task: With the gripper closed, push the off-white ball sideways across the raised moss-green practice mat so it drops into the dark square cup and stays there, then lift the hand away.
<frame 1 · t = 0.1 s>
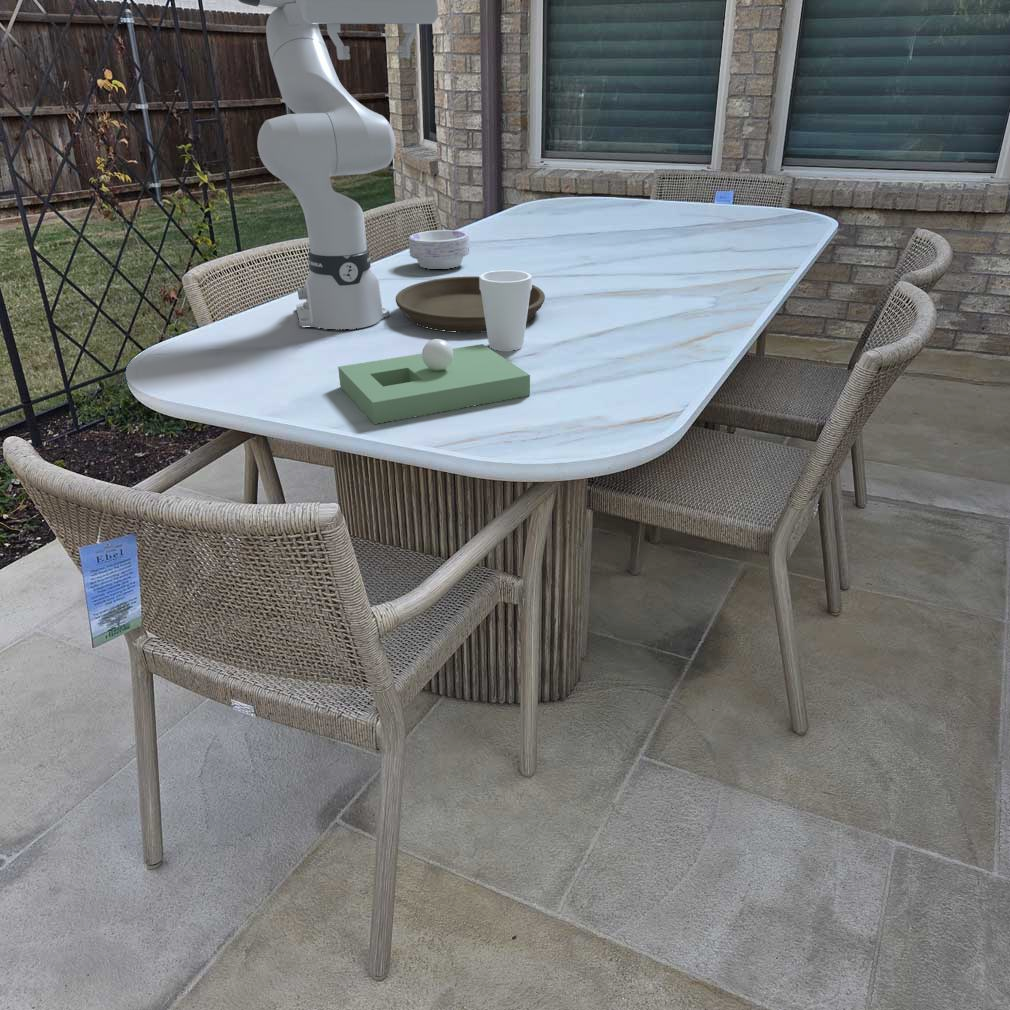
hand: (374, 59, 128), 48 cm above the table, tool pointing down, fingers open, 8 cm apart
paper bowls: (440, 267, 219), on the table
foam cup: (506, 347, 160), on the table
plant saucer: (470, 316, 180), on the table
ball: (437, 354, 137), point 6 cm above the table, touching green
green: (433, 391, 139), on the table
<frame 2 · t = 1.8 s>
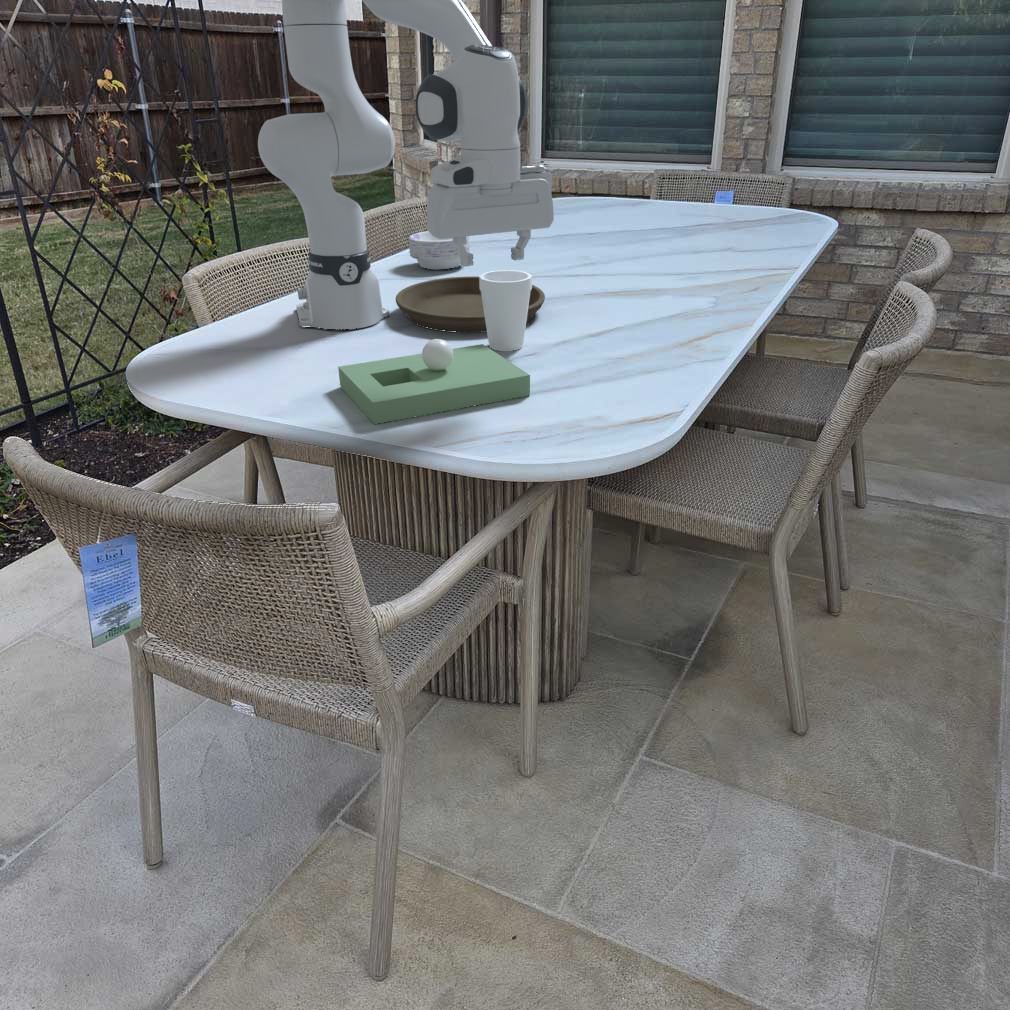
hand: (492, 262, 134), 20 cm above the table, tool pointing down, fingers open, 7 cm apart
nothing on the table moved.
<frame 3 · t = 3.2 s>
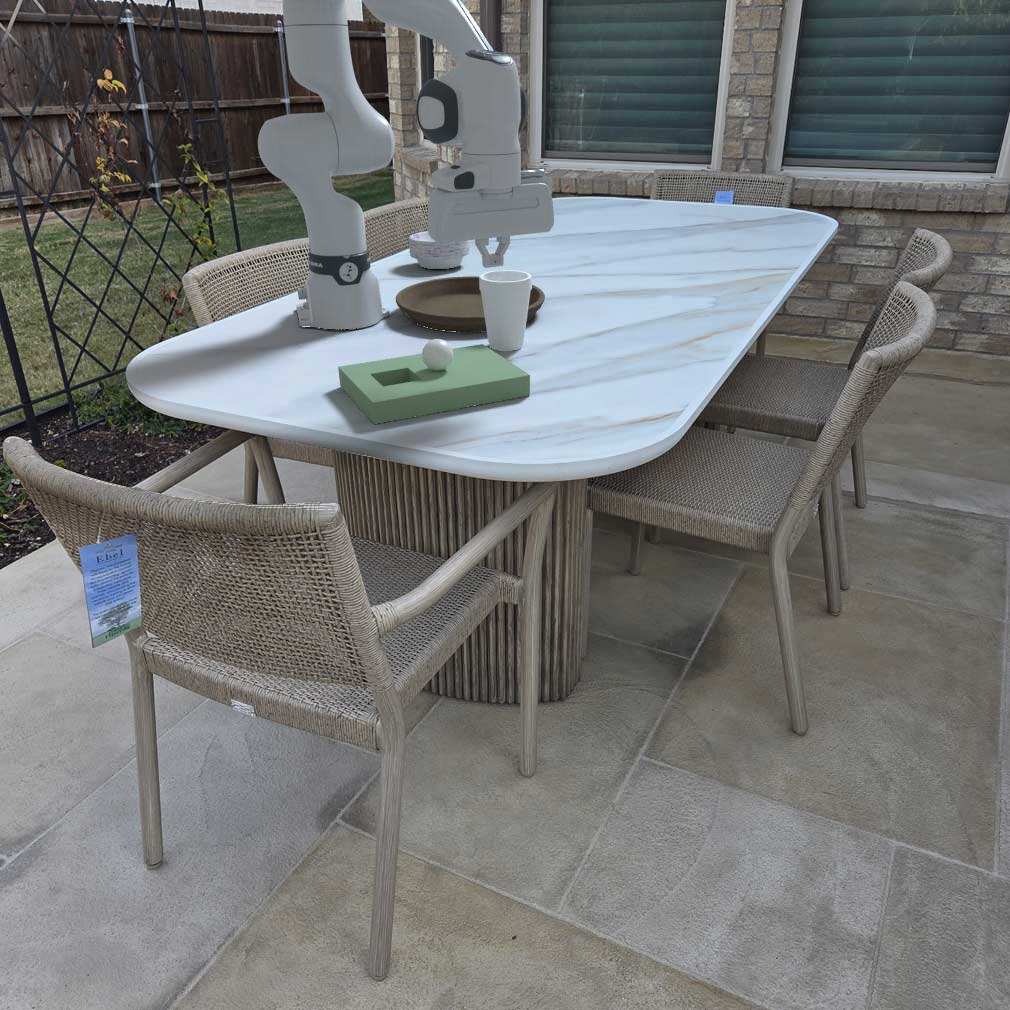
hand: (493, 266, 134), 19 cm above the table, tool pointing down, fingers closed
nothing on the table moved.
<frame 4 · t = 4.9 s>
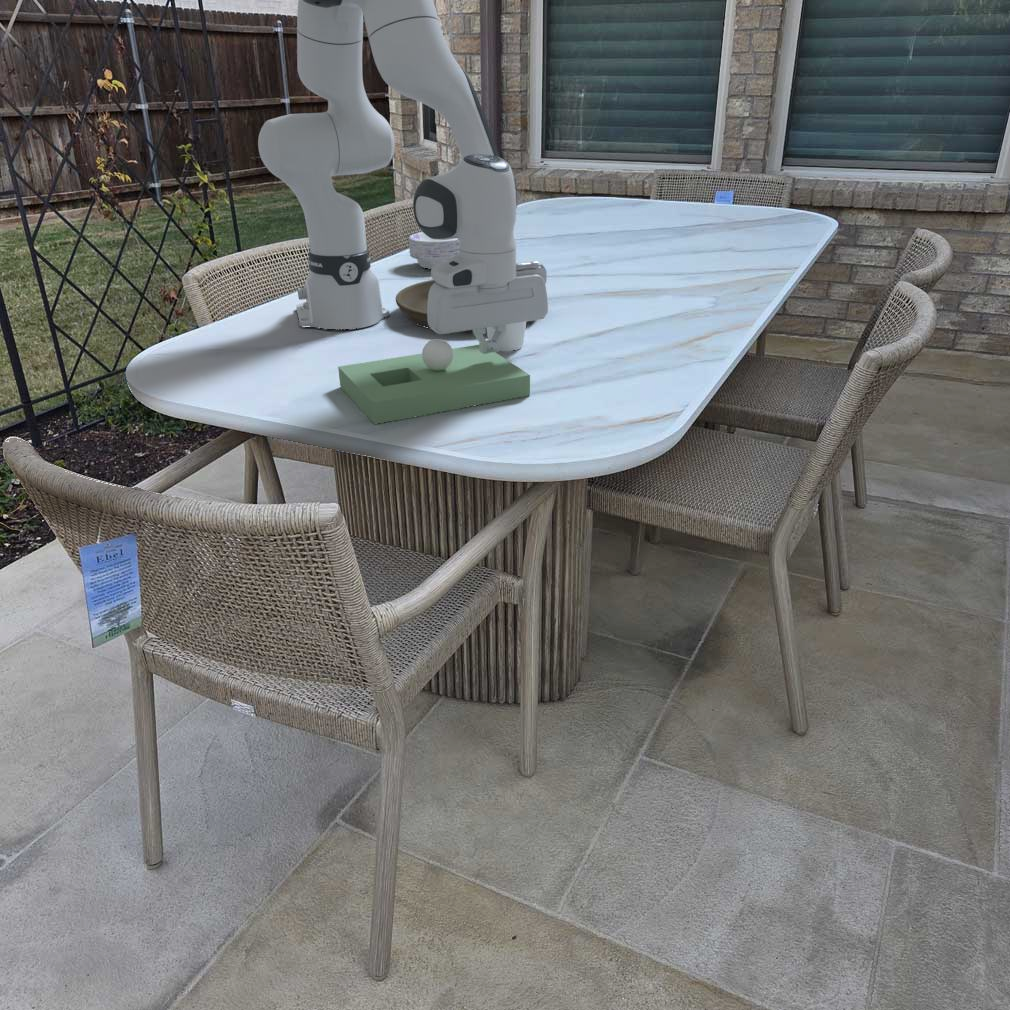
hand: (489, 352, 141), 5 cm above the table, tool pointing down, fingers closed
nothing on the table moved.
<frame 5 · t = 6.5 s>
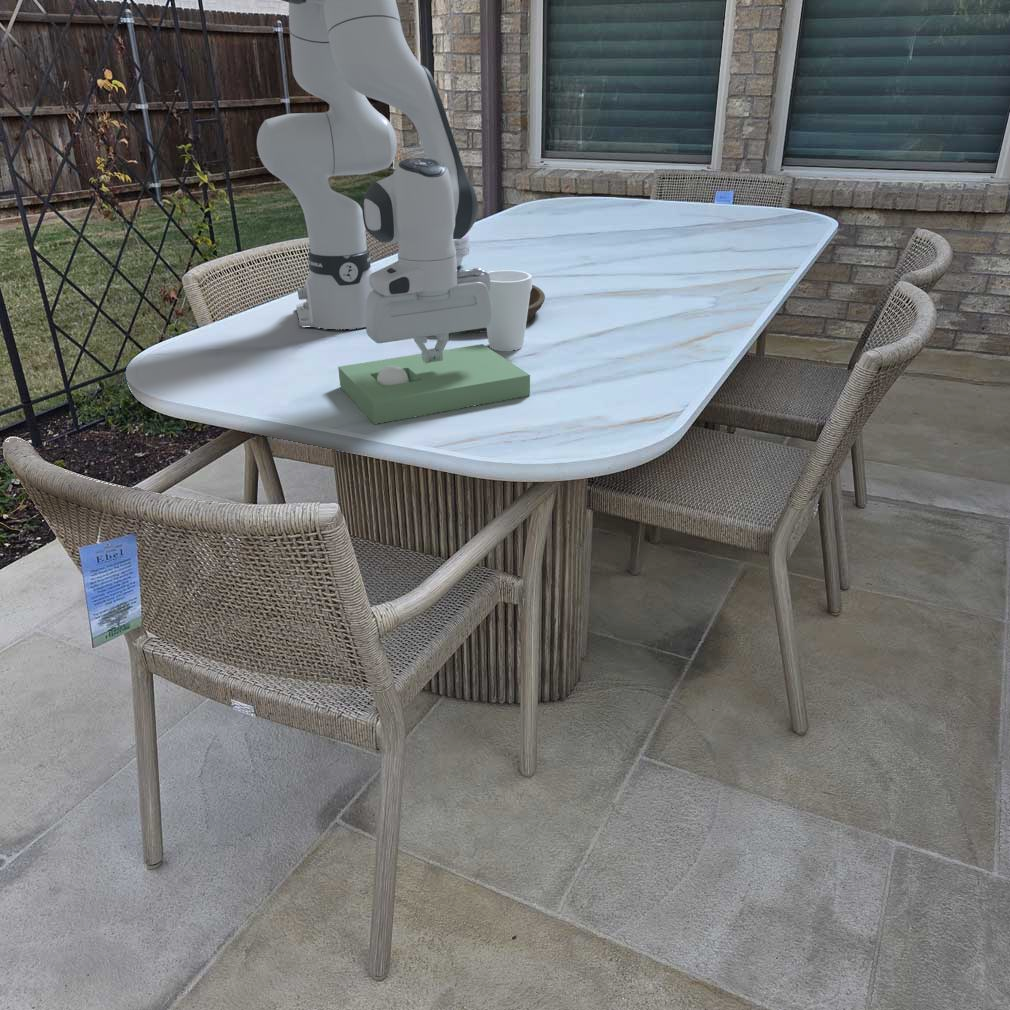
hand: (432, 361, 137), 5 cm above the table, tool pointing down, fingers closed
ball: (392, 381, 135), point 3 cm above the table, tilted 158°, touching green
everything else where it was.
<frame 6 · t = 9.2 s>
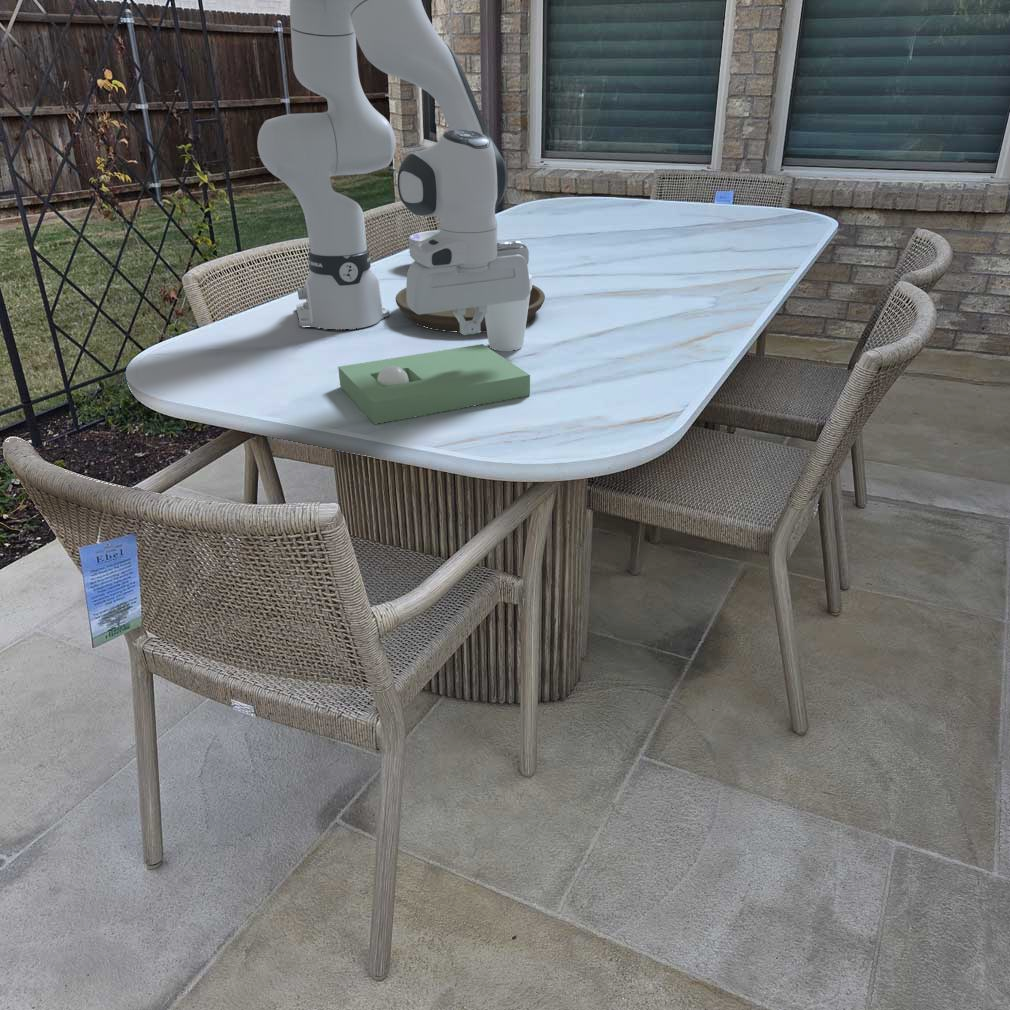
hand: (470, 333, 138), 9 cm above the table, tool pointing down, fingers closed
nothing on the table moved.
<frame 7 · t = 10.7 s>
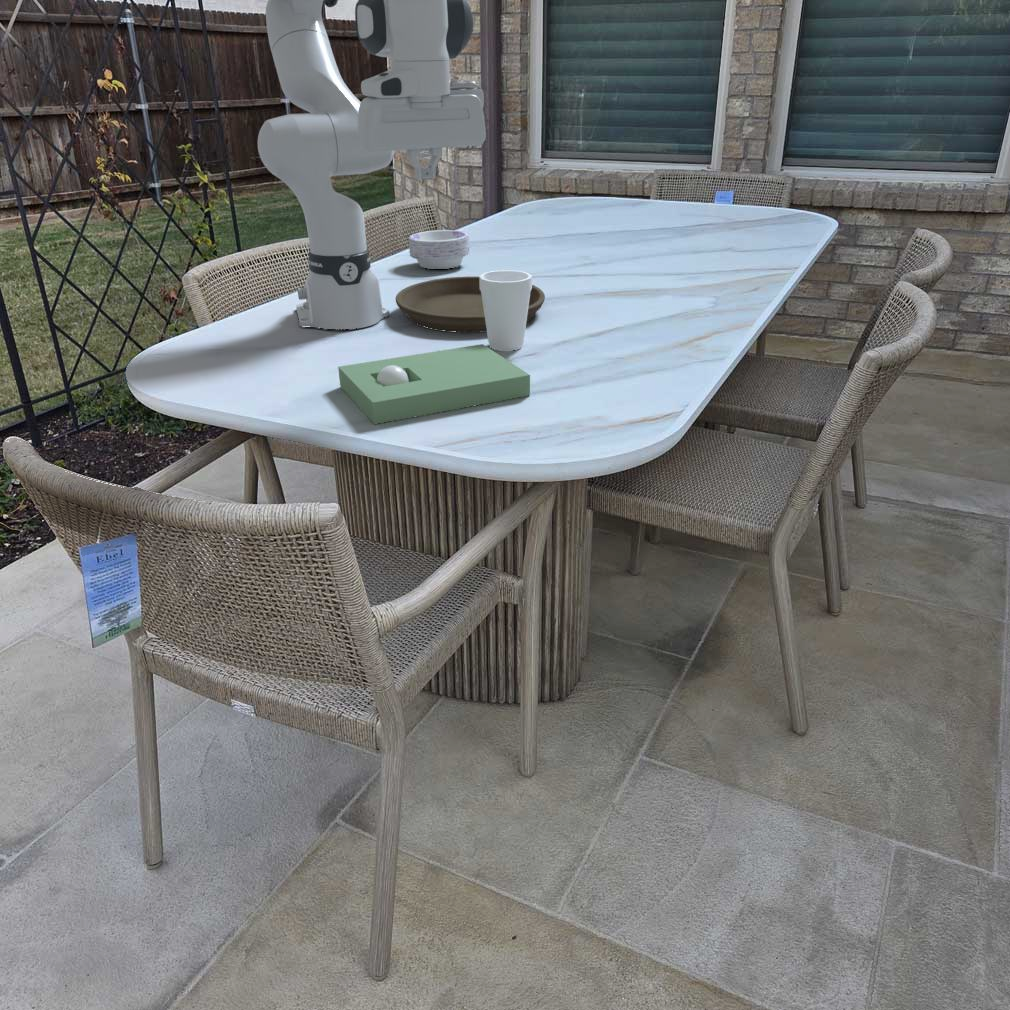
hand: (425, 179, 136), 31 cm above the table, tool pointing down, fingers closed
nothing on the table moved.
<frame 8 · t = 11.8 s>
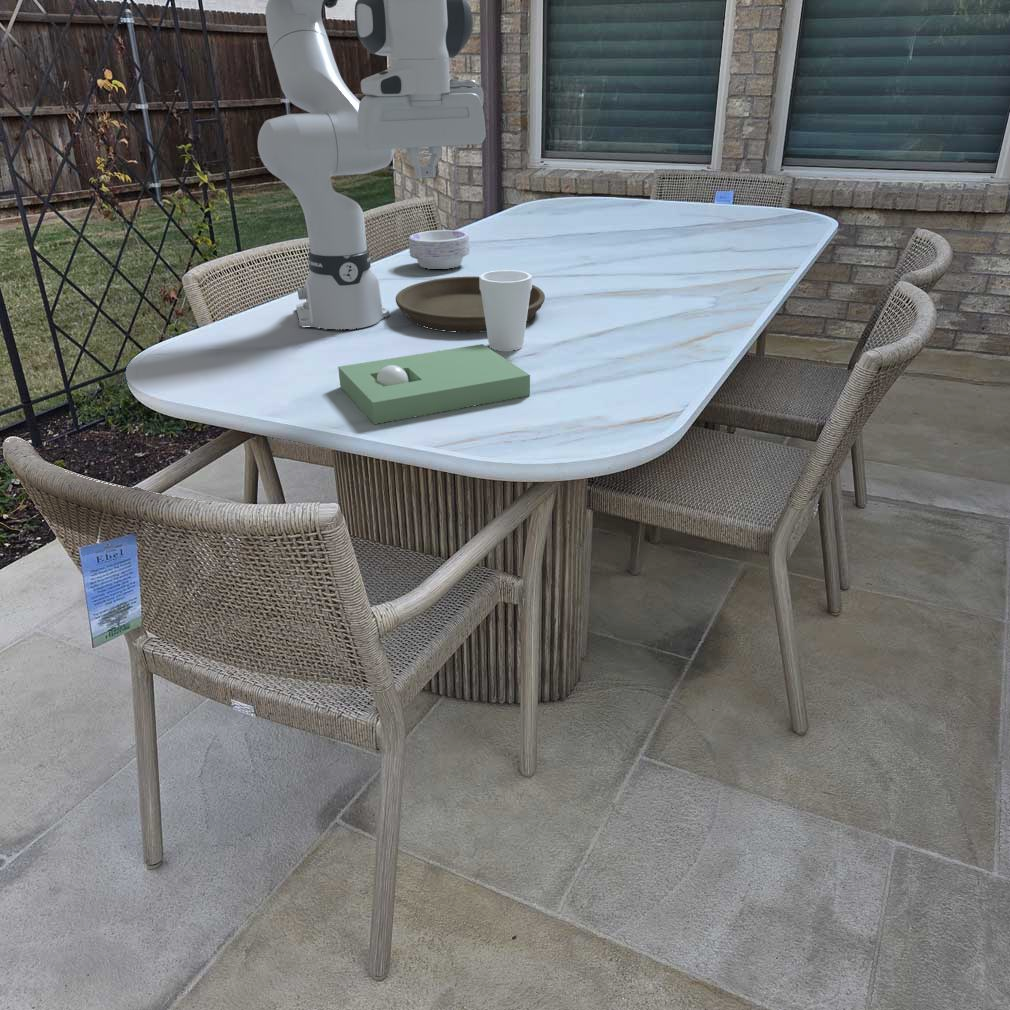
hand: (425, 177, 136), 31 cm above the table, tool pointing down, fingers closed
nothing on the table moved.
at the end: ball 0.8 cm from the target spot on the green, point 3.0 cm above the green's base; ball moved 8.5 cm from its start; the gripper is holding nothing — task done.
